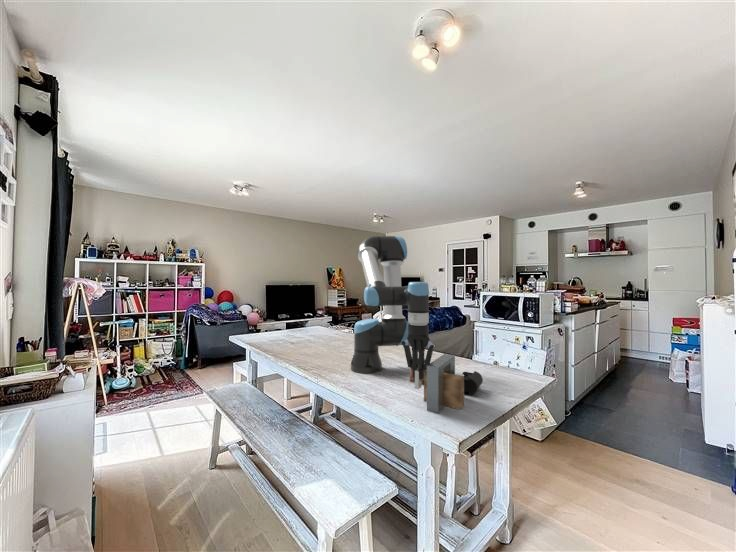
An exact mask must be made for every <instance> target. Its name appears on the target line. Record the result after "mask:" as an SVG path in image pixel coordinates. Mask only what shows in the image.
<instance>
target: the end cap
mask: <svg viewBox="0 0 736 552" xmlns="http://www.w3.org/2000/svg"><path fill="white" fill-rule="evenodd" d="M461 374H462V375H461V376H464V396H473V395H474V394H476V392H478V390H479V389H480V387H481V386H482V384H483V381H484V380H483V376H482V375H481V373H480V372H479V371H475V370H474V371H473V372H469V371H462V373H461Z"/></svg>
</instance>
